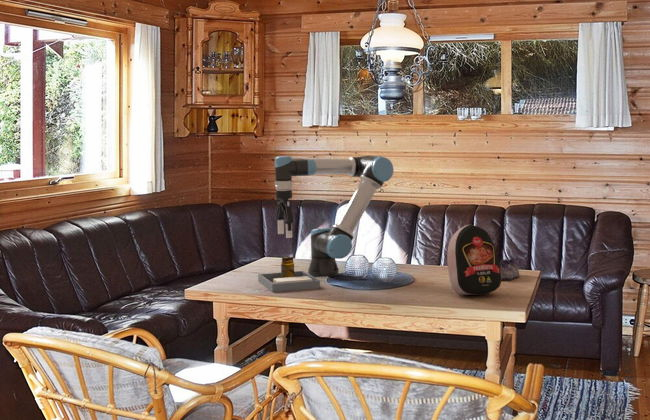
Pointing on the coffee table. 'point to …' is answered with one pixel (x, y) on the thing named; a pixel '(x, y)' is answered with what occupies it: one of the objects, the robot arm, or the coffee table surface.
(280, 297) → the coffee table surface
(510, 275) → the geode
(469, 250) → the packaged food
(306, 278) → the cream rectangular block
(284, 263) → the condiment
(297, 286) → the gray tray
